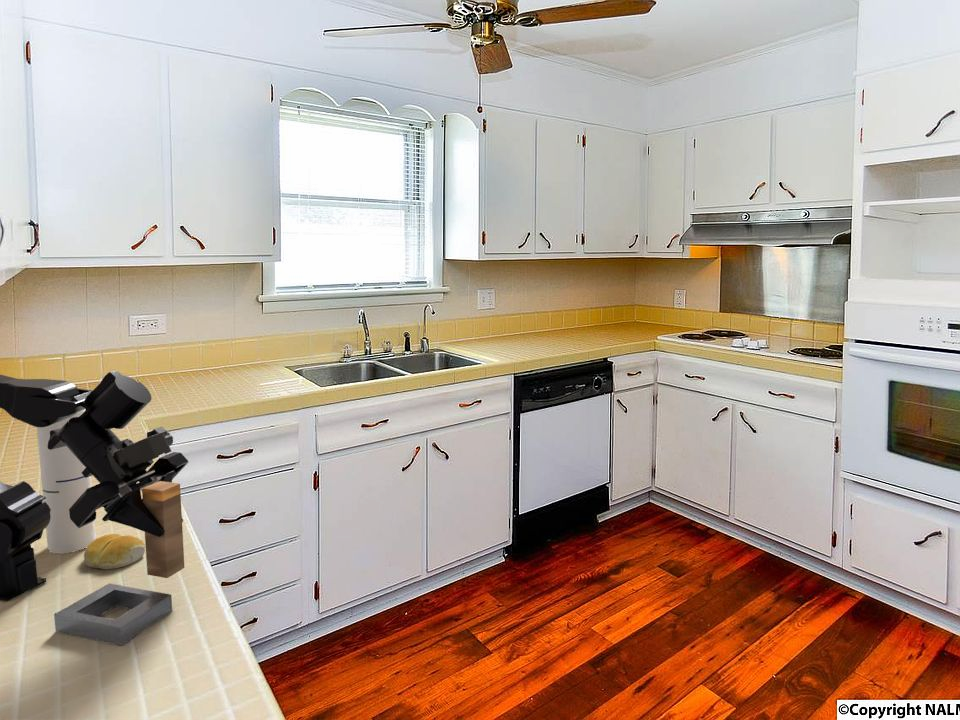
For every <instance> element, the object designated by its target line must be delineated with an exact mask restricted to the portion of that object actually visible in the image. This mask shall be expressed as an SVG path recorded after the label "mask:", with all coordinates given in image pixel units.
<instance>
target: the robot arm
mask: <svg viewBox="0 0 960 720" xmlns="http://www.w3.org/2000/svg"><path fill="white" fill-rule="evenodd" d="M101 379H102V380H101V381H100V382H99V384H97V386H96V387H94V389H93V390H91V389H86V388H79V387H77V386H76V385H75V384H74V383H72V382H70V381H67V380H61V379H60V380H59V379H51V378H16V377H12V376H8V375H3V374H0V409H2V410H4V411H5V412H6V413H7V414H8V415H9V416H10V417H12V418H13V419H16V420H18V421H20V422H22V423H25V424H27V425H29V426H33V427H35V428H37V427H47V426H50V425H52V424H55V423H57V422H60V421H62V420H65V419H67V418H70V417H72V416H73V415H75V414H76V413H77V412H79V411H81V410H84V409H85V412H84V413H83V414H82V415H80V416H79V417H73V418H71V419H70V420H69V421H68V422H67V423H66V424H65V425H64V426H63V427H62V428H61V429H56V430H51V431H50V438H49V441H48V446H47V448H48V449H49V450H52V449H56V448H60V447H65V446H67V448H68V449H69V450H70V451H71V452H72V453H73V454H74V455H75V456H76V457H77V459H78V460H79V461H80V462H81V463H82V464H83V465H84V466H85V467H86V468H85V469H84V470H83V471H82V474H83V475H84V477H85V478H87V477H90V476H91V477H92V476H93V478H95V480H96V481H97V482H99V483H98V484H95V485H93V486H91V487H90V488H88V489H86V491H85V492H84V493H83V494H82V495H81V496H80V497H79V499H78V500H77V501H76V502H75V503H74V504H73V505H72V506H71V508H70V509H69V514H70V519H71V520H72V521H73V523H74V524H75V525H76V526H77V527H78V528H81V527H83V526H85V525H87V524H89V523H91V522H93V521H94V522H95V520H96V519H97V510H99V509H101V508H103V510H104V511H105V512H106V513H105V514H104V516H103V517H102V519H101V520H102V521H103V522H108V521H111V522H113V523H116V524H119V525H120V524H121V525H124V526H128V527H130V528H133V529H136V530H139V531H142V532H144V533H145V532H147V533H150V534H152V535H155V536H158V537H161V536H162V535H163V534H164V533H165V530H164V529H163V527H162V526H161V524H160V523H159V522H158V520H157V519H156V518H155V517H154V516H153V514H152V513H151V512H150V511H149V510H148V508H147V507H146V506H145V505H144V503H143V497H142V493H141V492H142V488H145V487H147V486H149V485H152V484H154V483H157V482H159V481H164V482H172V483H173V480H174V479H175V478H176V477H177V476H178V474H179V473H180V472H181V471H182V470H183V469H184V468H185V467H186V466H187V465H188V464H189V460H188V459H187V458H186V457H185V455H184V454H182V452H180V451H179V452H178V451H177V452H176V451H173V452H172V449H171V447H170V446H172V445H173V443H174V436H173V435H172V434H171V433H170V432H169V431H167V429H165V428H164V427H163V426H161V425H160V426H158V427H156V428H154V429H153V430H149V431H147V433H146V437H145V438H143V439H140V440H138V441H136V442H133V440H132V439H129V438H126V439H124V440H121V439H120V438H119V437H118V436H117V434H115V433H114V432H113V430H112V429H115V430H121V429H124V428H126V427H127V426H128V425H129V424H130V423H131V422H132V421H133V419H135V417H136V416H137V415H138V414H139V413H140V412H142V411H143V410H144V408H146V406H147V405H148V404H149V403H151V401H152V394H151V393H150V391H149V389H148V388H147V387H146V386H145V385H144V384H143V383H142V382H141V381H139V382H138V381H137V380H136V379H134V378H132V377H130V376H127V375H123V374H122V373H120V372H119V370H112V371H109V372H108V373H106V375H104V376H103V378H101ZM168 453H169V454H168ZM164 454H166V455H164ZM160 456H161V457H160ZM156 458H158V459H157V460H156V461H155V460H154V459H156ZM148 468H149V469H148ZM147 469H148V470H147ZM44 499H46V497H45V496H43V494H40V493H38V492H37V491H36V490H35V489H34V488H33V487H32V486H31V485H30V483H28V482H26V481H25V480H22V481H21V482H18V483H16V484H14V485H11V484H10V485H9V484H7V483H3V482H2V481H0V601H3V602H9V601H12V600H13V599H16V598H18V597H20V596H21V595H23V594H25V593H28V592H30V591H31V590H33V589H35V588H37V587H39V586H41V585H44V584H46V583H47V578H45V577H40V576H38V571H37V570H38V569H37V568H38V567H37V560H36V557H35V550H34V547H32V544H33V543H35V542H36V541H39V540H41V538H42V536H43V534H44V530H46V527H47V526H48V524H49V522H50V518H51V517H50V511H51V509H50V507H49V506H48V504H47V503H46V502H45V501H43V500H44ZM183 522H184V519H183V518H182V523H183Z"/></svg>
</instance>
